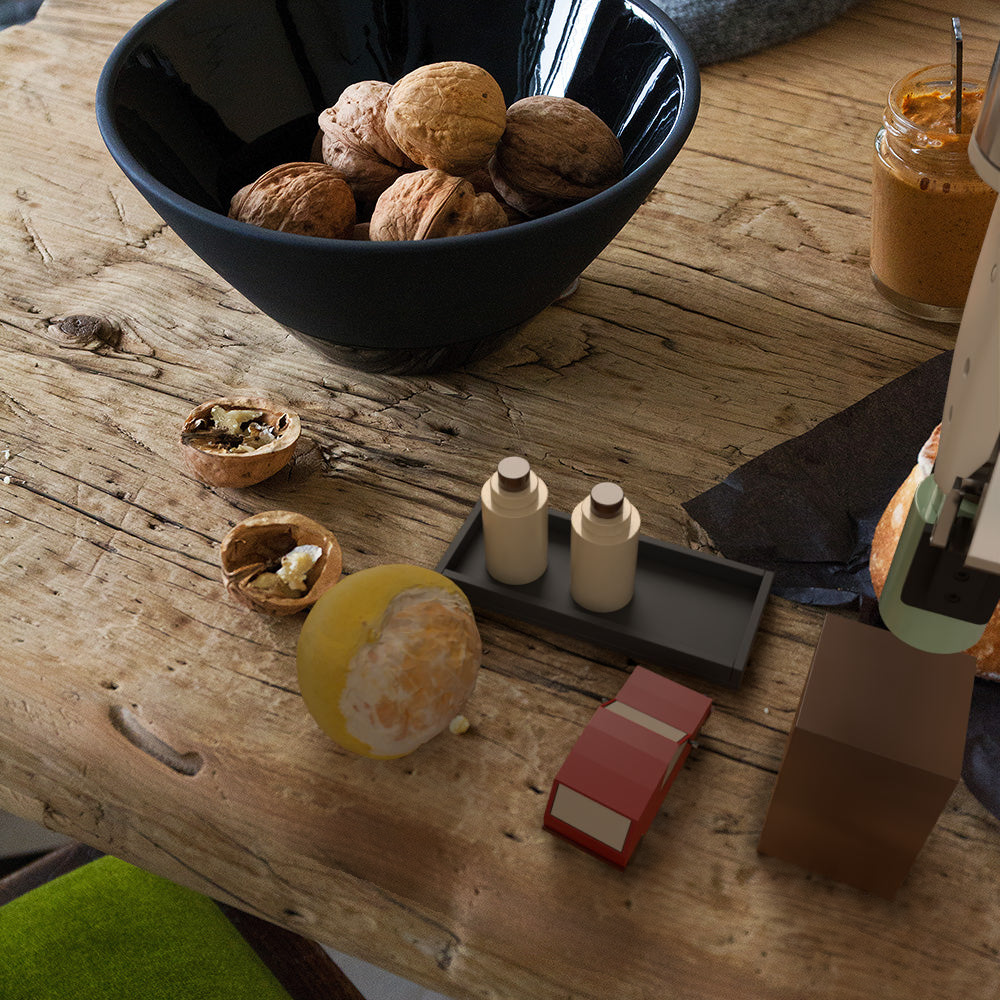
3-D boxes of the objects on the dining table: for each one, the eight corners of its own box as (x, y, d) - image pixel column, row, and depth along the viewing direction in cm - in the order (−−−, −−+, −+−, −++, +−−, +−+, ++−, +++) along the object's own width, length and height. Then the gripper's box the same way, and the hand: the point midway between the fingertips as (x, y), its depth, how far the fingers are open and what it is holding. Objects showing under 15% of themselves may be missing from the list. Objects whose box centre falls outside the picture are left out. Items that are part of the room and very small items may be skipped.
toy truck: (717, 725, 60) (730, 675, 56) (629, 891, 53) (638, 847, 49) (627, 682, 62) (634, 631, 58) (531, 836, 55) (533, 790, 52)
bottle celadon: (989, 591, 44) (1057, 440, 38) (978, 667, 41) (1050, 517, 35) (887, 564, 45) (937, 414, 39) (870, 636, 42) (921, 486, 36)
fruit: (281, 761, 59) (245, 658, 52) (361, 620, 66) (339, 512, 59) (445, 815, 56) (431, 713, 49) (511, 662, 63) (506, 554, 56)
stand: (912, 786, 57) (977, 656, 48) (892, 901, 52) (960, 781, 44) (785, 743, 59) (826, 612, 50) (756, 850, 54) (794, 726, 46)
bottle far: (557, 548, 69) (558, 454, 63) (533, 593, 66) (532, 499, 60) (500, 531, 70) (496, 437, 64) (474, 574, 68) (467, 480, 62)
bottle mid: (642, 573, 67) (652, 479, 61) (621, 620, 65) (629, 527, 59) (582, 555, 69) (586, 461, 62) (559, 601, 66) (561, 507, 60)
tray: (770, 593, 67) (775, 572, 65) (737, 692, 61) (742, 671, 60) (486, 510, 73) (484, 489, 71) (434, 593, 68) (432, 572, 66)
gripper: (1324, 313, 21) (1038, 771, 34) (1267, 18, 32) (1065, 452, 45) (944, 249, 24) (810, 700, 37) (1008, -7, 34) (887, 413, 47)
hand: (952, 560), depth 41 cm, fingers closed on bottle celadon, 4 cm apart
